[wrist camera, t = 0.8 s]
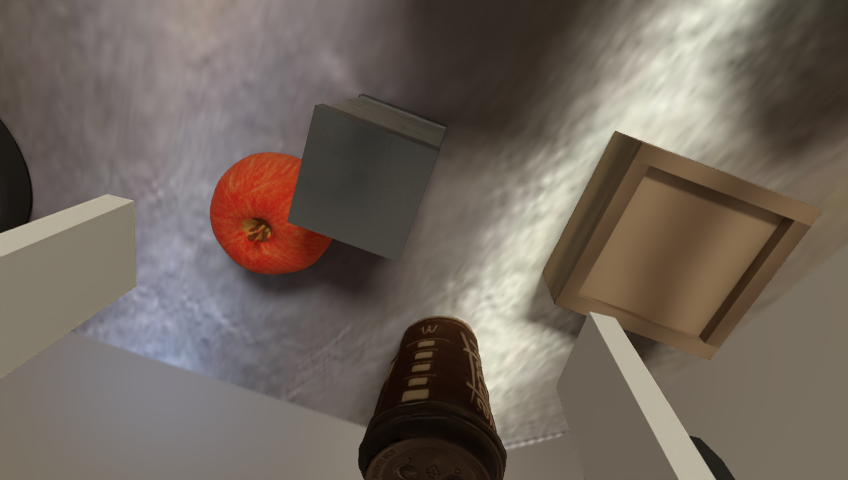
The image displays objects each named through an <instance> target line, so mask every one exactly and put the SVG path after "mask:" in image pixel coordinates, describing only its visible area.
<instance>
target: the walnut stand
mask: <svg viewBox="0 0 848 480" xmlns="http://www.w3.org/2000/svg"><path fill="white" fill-rule="evenodd" d="M821 212H822V210H820V209H817V208H815V207H812V206H810V205H807V204H805V203H802V202H800V201H797V200H795V199H792V198H790V197H787V196H785V195H782V194H780V193H777V192H775V191H772V190H770V189H767V188H765V187H762V186H759V185H757V184H754V183H751V182H749V181H746V180H743V179H741V178H738V177H736V176H733V175H730V174H728V173H725V172H722V171H720V170H717V169H715V168H712V167H709V166H707V165H704V164H701V163H699V162H696V161H693V160H691V159H688V158H686V157H683V156H680V155H678V154H675V153H672V152H670V151H667V150H665V149H662V148H659V147H657V146H654V145H651V144H649V143H646V142H643V141H641V140H638V139H636V138H633V137H630V136H628V135H625V134H622V133H620V132H617V131H615V132H614V134H613V136H612V138H611V140H610V142H609V144H608V146H607V148H606V150H605V152H604V154H603V156H602V158H601V160H600V162H599V164H598V165H597V167H596V169H595V171H594V173H593V175H592V177H591V179H590V181H589V183H588V185H587V187H586V189H585V191H584V193H583V195H582V197H581V199H580V200H579V202H578V204H577V206H576V208H575V210H574V212H573V214H572V216H571V218H570V220H569V222H568V224H567V226H566V228H565V230H564V232H563V234H562V235H561V237H560V239H559V241H558V243H557V245H556V247H555V249H554V251H553V253H552V255H551V257H550V259H549V261H548V263H547V265H546V267H545V269H544V270H543V274H544V277H545V280H546V282H547V285H548V288H549V290H550V293H551V296H552V298H553V301H554V304H555V305H558V306H561V307H563V308H566V309H569V310H572V311H574V312H577V313H580V314H583V315H586V316H588V313H589V312H593V313H597V314H602V315H606V316H610V317H614V318H616V320H617V321H618V323H619V325H620V326H621V328H622V329H625V330H627V331H630V332H633V333H636V334H639V335H641V336H644V337H647V338H650V339H653V340H655V341H658V342H661V343H664V344H666V345H669V346H672V347H675V348H678V349H680V350H683V351H686V352H689V353H692V354H694V355H697V356H700V357H703V358H705V359H708V360H711V358H712V357H713V356H714V354H715V353H716V352H717V350H718V349H719V348H720V346H721V345H722V344H723V342H724V341H725V340H726V338H727V337H728V336H729V334H730V333H731V332H732V330H733V329H734V328H735V326H736V325H737V324H738V322H739V321H740V320H741V318H742V317H743V316H744V314H745V313H746V312H747V310H748V309H749V308H750V306H751V305H752V304H753V302H754V301H755V300H756V298H757V297H758V296H759V294H760V293H761V292H762V291H763V289H764V288H765V287H766V285H767V284H768V283H769V281H770V280H771V279H772V277H773V276H774V275H775V273H776V272H777V271H778V269H779V268H780V267H781V265H782V264H783V263H784V261H785V260H786V259H787V257H788V256H789V255H790V253H791V252H792V251H793V249H794V248H795V247H796V245H797V244H798V243H799V241H800V240H801V239H802V237H803V236H804V235H805V233H806V232H807V231H808V229H809V228H810V227H811V225H812V224H813V223H814V221H815V220H816V219H817V217H818V216H819V215H820V214H821Z"/></svg>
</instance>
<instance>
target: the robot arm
mask: <svg viewBox="0 0 848 480" xmlns="http://www.w3.org/2000/svg"><path fill="white" fill-rule="evenodd" d="M30 198H31V196H30V184H29V179H28V174H27V171H26V167H25V164H24V161H23V159H22V156H21V154H20V152H19V150H18V148H17V146H16V144H15V142H14V140H13V138H12V137H11V135H10V133H9V132H8V130H7V129H6V127H5V126H4V125H3V123H2V122H1V121H0V379H1V378H3V377H4V376H6V375H7V374H9V373H10V372H12V371H13V370H14V369H16V368H18V367H19V366H20V365H22V364H23V363H25V362H26V361H28V360H29V359H30V358H32V357H34V356H35V355H36V354H38V353H39V352H41V351H42V350H44V349H45V348H47V347H48V346H50V345H51V344H52V343H54V342H55V341H57V340H58V339H60V338H61V337H62V336H64V335H66V334H67V333H69V332H70V331H71V330H73V329H74V328H76V327H77V326H79V325H80V324H82V323H83V322H85V321H86V320H87V319H89V318H90V317H92V316H93V315H95V314H96V313H98V312H99V311H101V310H102V309H103V308H105V307H106V306H108V305H109V304H111V303H112V302H114V301H115V300H117V299H118V298H119V297H121V296H122V295H124V294H125V293H127V292H128V291H130V290H131V289H133V288H134V287H136V250H135V212H134V201H133V200H129V199H125V198H121V197H116V196H112V195H108V194H106V195H104V196H101V197H98V198H95V199H93V200H90V201H87V202H85V203H82V204H79V205H76V206H74V207H71V208H68V209H66V210H63V211H60V212H57V213H55V214H52V215H49V216H46V217H44V218H41V219H38V220H36V221H33V222H30V223H27V224H25V223H26V221H27V218H28V215H29V210H30ZM556 388H557V391H558V394H559V398H560V401H561V404H562V407H563V411H564V414H565V417H566V421H567V424H568V427H569V430H570V434H571V437H572V440H573V443H574V447H575V450H576V453H577V456H578V460H579V463H580V467H581V470H582V473H583V476H584V480H735V479H734V477H733V476H732V474H731V473H730V471H729V470H728V468H727V467H726V465H725V464H724V462H723V461H722V459H720V458H719V457H718V456H717V455H716V454H715V453H714V452H713V451H712V450H711V449H710V448H709V447H708V446H707V445H706V444H705V443H704V442H703V441H702V440H701V439H700V438H697V437H693V436H689V435H688V434H687V433H686V431H685V429H684V428H683V426H682V424H681V423H680V421H679V420H678V418H677V416H676V415H675V413H674V412H673V410H672V408H671V407H670V405H669V404H668V402H667V400H666V399H665V397H664V396H663V394H662V392H661V391H660V389H659V387H658V386H657V384H656V383H655V381H654V379H653V378H652V376H651V375H650V373H649V371H648V370H647V368H646V367H645V365H644V363H643V362H642V360H641V358H640V357H639V355H638V354H637V352H636V350H635V349H634V347H633V346H632V344H631V342H630V341H629V339H628V338H627V336H626V334H625V333H624V331H623V329H622V328H621V326H620V325H619V323H618V321H617V320H616V318H614V317H610V316H606V315H602V314H597V313H593V312H589V313H588V316H587V318H586V320H585V322H584V325H583V327H582V329H581V331H580V334H579V336H578V338H577V340H576V343H575V345H574V347H573V349H572V352H571V354H570V356H569V358H568V361H567V363H566V365H565V367H564V370H563V372H562V374H561V376H560V379H559V381H558V383H557V385H556Z"/></svg>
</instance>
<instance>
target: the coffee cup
mask: <svg viewBox="0 0 848 480" xmlns="http://www.w3.org/2000/svg"><path fill="white" fill-rule="evenodd" d="M506 458H507V453H506V450H505V448H504V446H503V444H502V441H501V439H500V438H499V436H498V435H497V431H496V427H495V423H494V419H493V415H492V413H491V408H490V404H489V394H488V390H487V387H486V385H485V382H484V377H483V373H482V367H481V359H480V355H479V350H478V343H477V339H476V337H475V335H474V333H473V331H472V329H471V328H470V326H469V325H468V324H466V323H464V322H463V321H461V320H459V319H457V318H454V317H446V316H432V317H427V318H424V319H422V320H419V321H417V322H416V323H414V324H412V325H411V326H410V327H409V328H408V329H407V331H406V332H405V335H404V337H403V339H402V342H401V346H400V350H399V352H398V354H397V356H396V357H395V359H394V360H393V361H392V362H391V367H390V370H389V373H388V375H387V378H386V380H385V383H384V385H383V388H382V390H381V392H380V396H379V399H378V402H377V405H376V409H375V413H374V416H373V417H372V419H371V421H370V423H369V425H368V427H367V430H366V433H365V436H364V438H363V441H362V443H361V444H360V447H359V458H358V465H359V469H360V471H361V473H362V476H363V478H364V480H503V477H504V472H505V467H506Z"/></svg>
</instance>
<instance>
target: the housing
mask: <svg viewBox="0 0 848 480" xmlns="http://www.w3.org/2000/svg"><path fill="white" fill-rule="evenodd" d="M446 128H447V125H445V124H442V123H439V122H437V121H434V120H431V119H429V118H426V117H424V116H421V115H418V114H416V113H413V112H410V111H408V110H405V109H402V108H400V107H397V106H394V105H392V104H389V103H386V102H384V101H381V100H379V99H376V98H373V97H371V96H368V95H365V94H360V95H359V97H358V98H354V99H350V100H346V101H343V102H339V103H335V104H332V105H326V104H319V105H315V108H314V112H313V116H312V121H311V125H310V129H309V133H308V137H307V141H306V145H305V149H304V153H303V157H302V161H301V166H300V170H299V174H298V178H297V182H296V186H295V190H294V194H293V198H292V202H291V206H290V210H289V215H288V219H287V222H288V223H291V224H294V225H297V226H299V227H302V228H305V229H308V230H310V231H313V232H316V233H319V234H322V235H324V236H327V237H330V238H333V239H335V240H338V241H341V242H344V243H347V244H349V245H352V246H355V247H358V248H360V249H363V250H366V251H369V252H371V253H374V254H377V255H380V256H383V257H385V258H388V259H391V260H394V261H396V262H399V259H400V256H401V254H402V251H403V248H404V246H405V243H406V240H407V237H408V235H409V232H410V229H411V226H412V224H413V221H414V218H415V216H416V213H417V210H418V207H419V205H420V202H421V199H422V197H423V194H424V191H425V188H426V186H427V183H428V180H429V177H430V175H431V172H432V169H433V167H434V164H435V161H436V158H437V156H438V153H439V150H440V145H441V142H442V139H443V137H444V134H445V131H446Z"/></svg>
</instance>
